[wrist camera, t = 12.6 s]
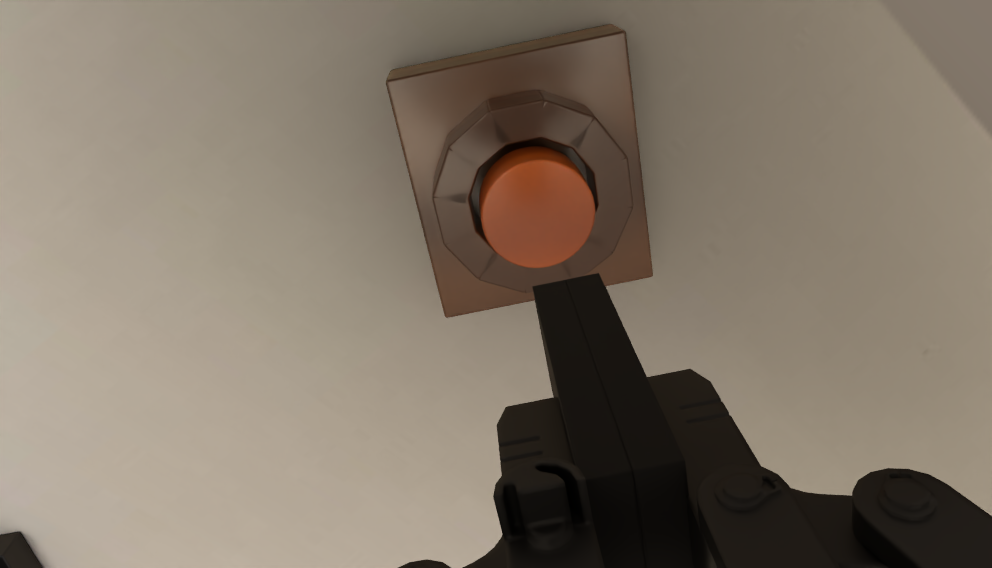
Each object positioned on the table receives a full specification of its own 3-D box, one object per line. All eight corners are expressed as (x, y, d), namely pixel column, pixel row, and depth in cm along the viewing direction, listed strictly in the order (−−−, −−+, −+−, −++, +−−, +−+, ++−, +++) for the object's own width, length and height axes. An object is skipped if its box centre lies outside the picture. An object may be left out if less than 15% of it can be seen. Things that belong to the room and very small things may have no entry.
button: (468, 157, 24) (470, 173, 22) (578, 135, 24) (587, 149, 22) (490, 257, 26) (493, 278, 24) (593, 237, 25) (602, 256, 24)
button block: (389, 69, 26) (380, 91, 23) (612, 23, 26) (639, 36, 22) (445, 293, 30) (444, 342, 26) (639, 254, 30) (666, 298, 26)
